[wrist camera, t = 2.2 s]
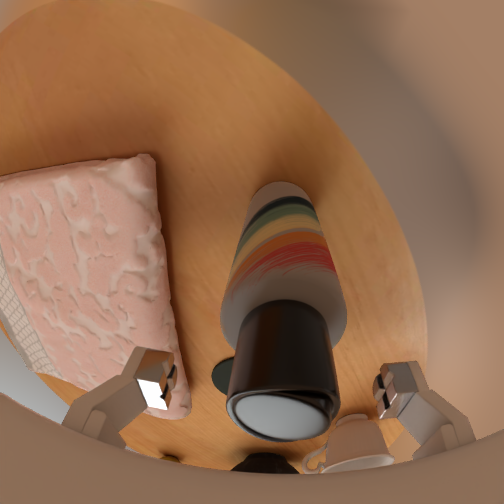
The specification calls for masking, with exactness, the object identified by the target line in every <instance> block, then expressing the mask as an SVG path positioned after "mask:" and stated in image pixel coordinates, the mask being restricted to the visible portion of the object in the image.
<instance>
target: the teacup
mask: <svg viewBox="0 0 504 504" xmlns="http://www.w3.org/2000/svg"><path fill="white" fill-rule="evenodd" d="M326 447H327V451H326V462H325V463H322V462H319V463H318V466H317V468H316V469H313V470H311V469H309V468H308V467H307V463H308V461H309V460H310V459H311V458H312V457H314V456H316V455H318V454H320V453H321V452H323V451H324V450H325V449H326ZM394 460H395V458H394V456H392V455H391V454H390V453H389V451H388V449H387V446H386V444H385V441H384V438H383V435H382V432H381V430H380V428H379V426H378V425H377V424H376V423H374V422H373V421H370V420H368V417H367V415H365V414H351V415H347V416H345V417H343V418H341V419H339V420H338V421H337V423H336V428H335V429H334V430H333V431H332V432H331V433H330V435H329V438H328V440H327V442H326V443H325V444H324V445H323V446H322V447H321V448H319V449H317V450H314V451H312V452H310V453H309V454H307V455H306V456H305V458H304V459H303V461H302V469H303V471H304V473H305V474H317V473H319V471H320V468H321V467H322V468H324V469H323V470H322V472H321V473H333V472H344V471H354V470H362V469H369V468H375V467H382V466H387V465H391V464H392V463H393V462H394Z"/></svg>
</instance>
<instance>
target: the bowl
mask: <svg viewBox="0 0 504 504" xmlns="http://www.w3.org/2000/svg"><path fill="white" fill-rule="evenodd" d="M231 471H237V472H248V473H264V474H300V473H299V472H298V471H297V470H296V469H295V468H294V467H293V466H291V465H290V464H289V463H287V461H286V459H285V458H284V457H283V456H281V455H278V454H273V453H255V454H251V455H249V456H247V458H246V459H245V460H244V461H243V462H241V463H240V464H238V465H236V466H235V467H234V468H233V469H231Z"/></svg>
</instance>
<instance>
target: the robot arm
mask: <svg viewBox="0 0 504 504" xmlns="http://www.w3.org/2000/svg"><path fill="white" fill-rule="evenodd" d="M174 360H175V357H174V353H171V352H166V351H161V350H156V349H151V348H145V347H140V346H136V347H135V348H134V349H133V351H132V353H131V355H130V357H129V359H128V361H127V363H126V365H125V367H124V369H123V371H122V373H121V375H116V376H114V377H112V378H111V379H109V380H107V381H106V382H104V383H102V384H101V385H99V386H98V387H96V388H94V389H93V390H91V391H89V392H87V393H86V394H84V395H82V396H81V397H79V398H77V399H76V400H74V401H73V403H72V405H71V407H70V409H69V411H68V412H67V415H66V416H65V418H64V420H63V422H62V424H59V423H56V422H54V421H52V420H50V419H48V418H46V417H44V416H42V415H40V414H38V413H36V412H34V411H33V410H31V409H29V408H27V407H25V406H23V405H22V404H20V403H18V402H17V401H15V400H13V399H12V398H10V397H9V396H7V395H5V394H3V393H0V504H504V429H502V430H500V431H498V432H496V433H494V434H491V435H489V436H487V437H484V438H482V439H479V440H476V438H475V436H474V433H473V430H472V428H471V425H470V422H469V420H468V418H467V417H466V416H465V415H463V414H462V413H461V412H460V411H459V410H457V409H456V408H455V407H454V406H452V405H451V404H450V403H449V402H447V401H446V400H445V399H444V398H442V397H441V396H440V395H438V394H437V393H436V392H435V391H433V390H429V387H428V385H427V383H426V380H425V378H424V375H423V373H422V371H421V368H420V366H419V364H418V362H417V361H409V362H395V363H384V364H383V365H382V366H381V368H380V372H381V373H380V374H379V375H377V376H376V378H375V380H374V382H373V396H374V398H375V399H376V400H377V401H378V404H377V406H376V408H377V412H378V416H379V419H388V418H397V417H398V418H397V419H398V420H399V421H400V422H401V424H402V425H403V426H404V427H405V428H406V429H407V430H408V431H409V433H410V434H411V435H412V436H413V437H414V438H415V439H416V440H417V442H418V443H419V444H420V445H421V447H420V448H419V449H418V450H416V451H415V452H414V454H413V455H412V456H413V460H411V461H407V462H403V463H398V464H393V465H387V466H382V467H375V468H369V469H362V470H354V471H344V472H333V473H317V474H264V473H248V472H237V471H227V470H219V469H211V468H205V467H198V466H193V465H187V464H182V463H177V462H172V461H168V460H163V459H159V458H155V457H151V456H147V455H144V454H140V453H136V452H133V451H130V450H126V449H125V446H126V443H125V441H124V440H123V438H122V437H121V436H120V434H119V433H118V432H119V431H120V430H122V429H123V428H124V427H125V426H126V425H128V424H129V423H130V422H131V421H132V420H133V419H135V418H136V417H137V416H138V415H139V414H141V413H142V412H143V411H144V410H145V409H146V408H148V407H147V406H149V407H154V408H159V409H165V410H168V408H169V405H170V401H171V398H172V395H171V392H170V391H172V390H173V389H174V388H175V386H176V382H177V367H176V365H175V364H173V363H174Z"/></svg>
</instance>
